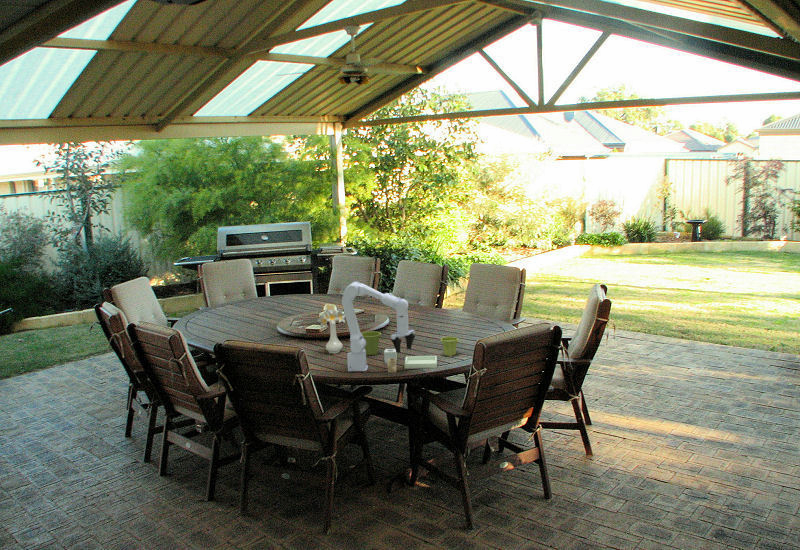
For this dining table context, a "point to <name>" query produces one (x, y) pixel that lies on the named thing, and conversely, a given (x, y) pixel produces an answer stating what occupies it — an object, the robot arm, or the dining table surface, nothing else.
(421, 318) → the dining table surface
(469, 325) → the dining table surface
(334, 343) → the flower vase
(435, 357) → the tray
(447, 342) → the plant pot
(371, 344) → the plant pot
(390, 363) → the small block
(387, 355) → the large block
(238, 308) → the dining table surface
